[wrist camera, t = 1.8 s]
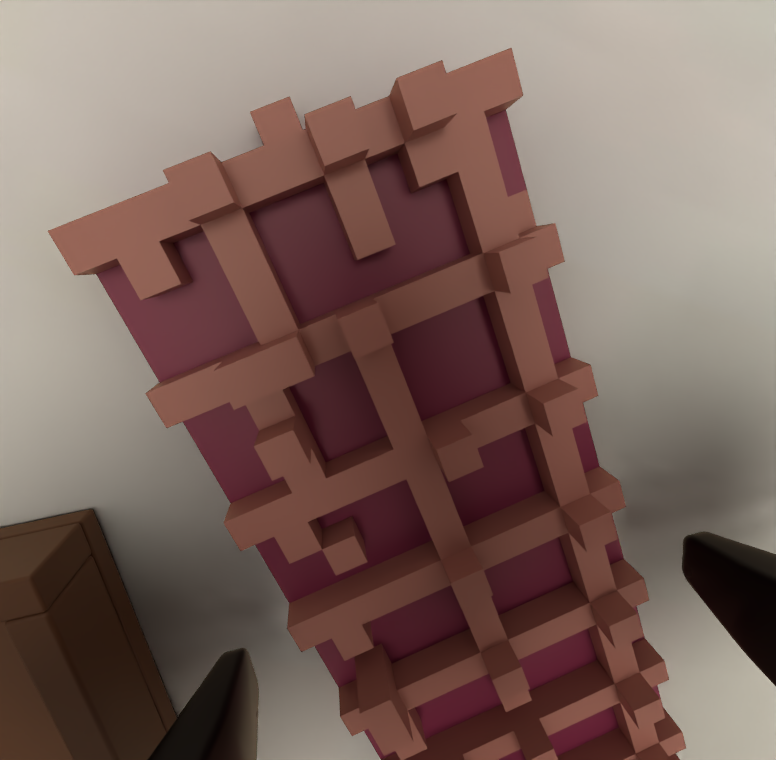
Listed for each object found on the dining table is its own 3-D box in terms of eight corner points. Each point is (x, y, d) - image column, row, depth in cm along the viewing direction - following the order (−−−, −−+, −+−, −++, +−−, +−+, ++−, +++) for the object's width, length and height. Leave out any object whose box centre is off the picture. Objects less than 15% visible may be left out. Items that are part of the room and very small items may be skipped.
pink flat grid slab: (468, 41, 8) (518, -32, 6) (661, 742, 13) (718, 823, 11) (71, 197, 7) (-17, 174, 5) (442, 846, 13) (464, 945, 11)
